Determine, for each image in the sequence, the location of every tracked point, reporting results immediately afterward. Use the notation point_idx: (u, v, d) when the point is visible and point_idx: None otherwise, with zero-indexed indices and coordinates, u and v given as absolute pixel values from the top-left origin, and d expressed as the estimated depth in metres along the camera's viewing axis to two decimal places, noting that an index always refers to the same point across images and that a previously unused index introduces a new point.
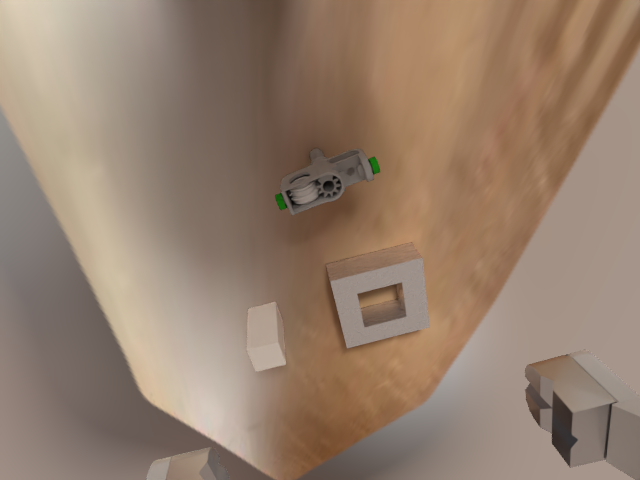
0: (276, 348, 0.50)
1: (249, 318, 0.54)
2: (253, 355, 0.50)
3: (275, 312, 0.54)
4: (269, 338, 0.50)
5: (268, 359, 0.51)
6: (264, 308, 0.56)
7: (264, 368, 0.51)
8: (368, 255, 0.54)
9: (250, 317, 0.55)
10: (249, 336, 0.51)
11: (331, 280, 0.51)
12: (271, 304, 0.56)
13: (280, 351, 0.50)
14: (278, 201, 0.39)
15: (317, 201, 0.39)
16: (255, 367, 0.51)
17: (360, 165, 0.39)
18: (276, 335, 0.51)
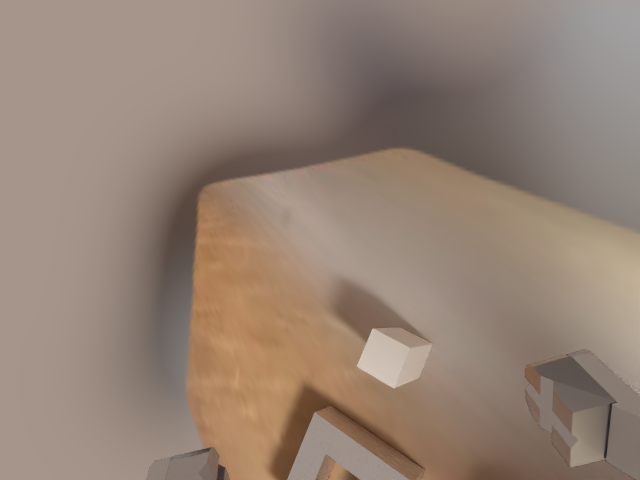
0: (385, 377, 0.37)
1: (426, 347, 0.42)
2: (396, 347, 0.37)
3: (412, 379, 0.42)
4: (401, 376, 0.38)
5: (378, 356, 0.38)
6: (422, 364, 0.43)
7: (369, 340, 0.39)
8: None
9: (426, 348, 0.42)
10: (416, 350, 0.39)
11: None
12: (420, 372, 0.43)
13: (378, 377, 0.38)
14: None
15: None
16: (378, 333, 0.38)
17: None
18: (398, 385, 0.38)
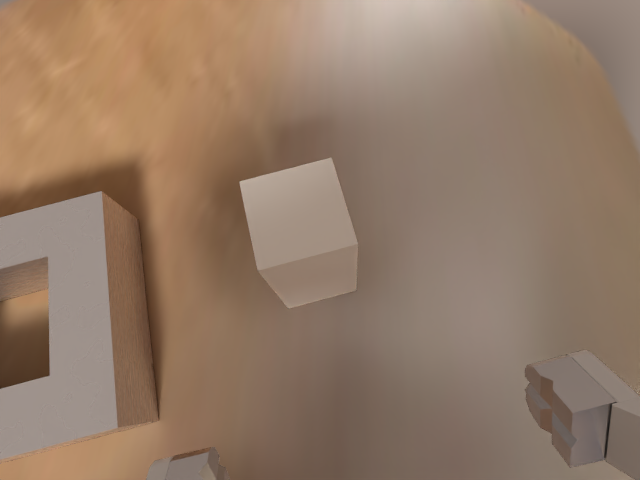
0: (263, 242, 0.16)
1: (351, 282, 0.21)
2: (336, 221, 0.16)
3: (284, 299, 0.21)
4: (288, 270, 0.17)
5: (291, 201, 0.16)
6: (314, 298, 0.22)
7: (305, 169, 0.17)
8: (45, 450, 0.21)
9: (349, 283, 0.21)
10: (349, 263, 0.18)
11: (115, 427, 0.18)
12: (298, 304, 0.23)
13: (252, 231, 0.16)
14: None
15: None
16: (332, 174, 0.17)
17: None
18: (267, 277, 0.17)
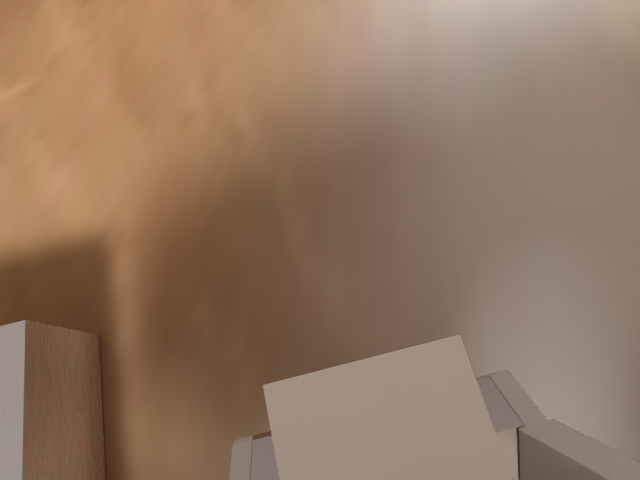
0: None
1: None
2: None
3: None
4: None
5: (379, 445, 0.07)
6: None
7: (404, 361, 0.08)
8: None
9: None
10: None
11: None
12: None
13: None
14: None
15: None
16: (465, 378, 0.08)
17: None
18: None
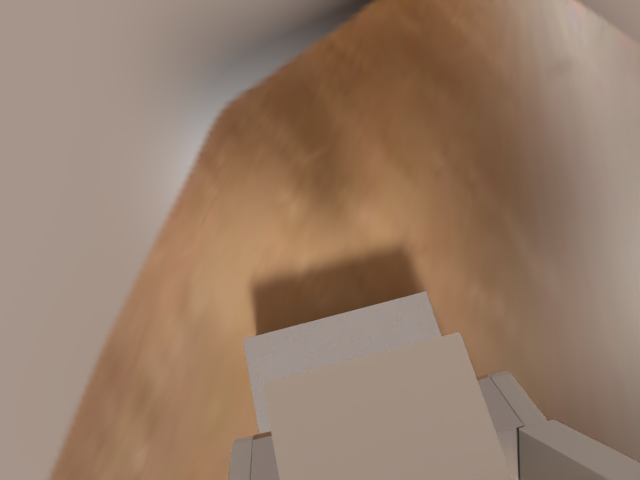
0: None
1: None
2: None
3: None
4: None
5: (379, 442, 0.07)
6: None
7: (404, 358, 0.08)
8: None
9: None
10: None
11: None
12: None
13: None
14: None
15: None
16: (464, 375, 0.08)
17: None
18: None
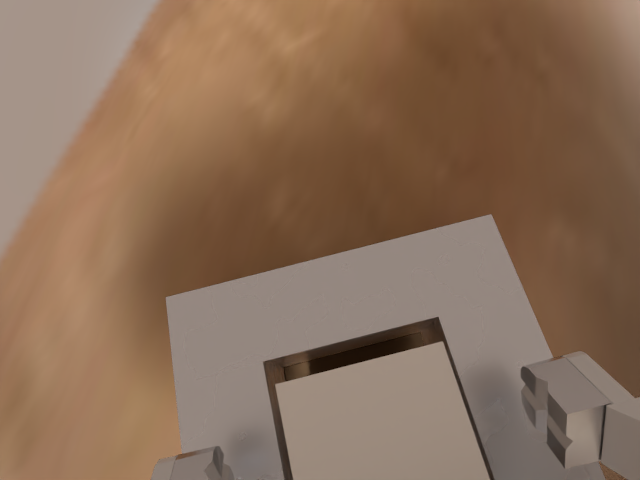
0: None
1: None
2: None
3: None
4: None
5: (374, 434, 0.09)
6: None
7: (395, 364, 0.09)
8: None
9: None
10: None
11: None
12: None
13: None
14: None
15: None
16: (446, 378, 0.09)
17: None
18: None
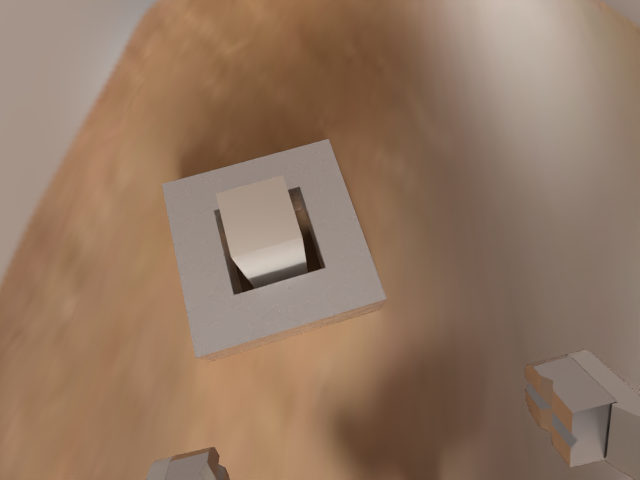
0: (234, 237, 0.22)
1: (303, 266, 0.28)
2: (286, 221, 0.23)
3: (251, 281, 0.27)
4: (253, 257, 0.23)
5: (254, 208, 0.23)
6: (275, 279, 0.29)
7: (264, 183, 0.23)
8: (300, 333, 0.28)
9: (301, 267, 0.28)
10: (298, 251, 0.24)
11: (383, 299, 0.25)
12: (263, 285, 0.29)
13: (226, 230, 0.22)
14: None
15: None
16: (283, 187, 0.23)
17: None
18: (238, 262, 0.23)
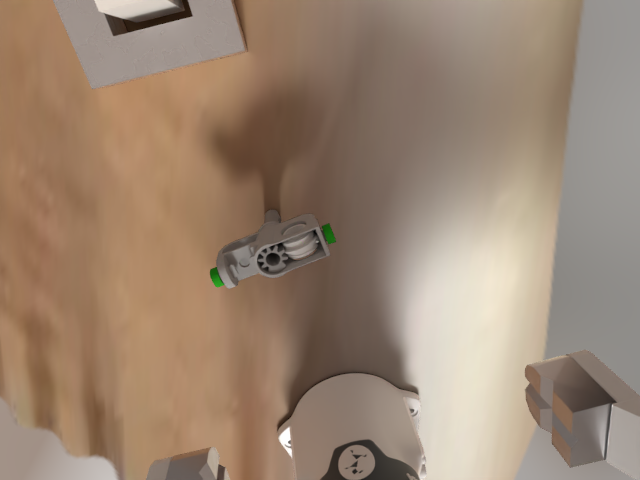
0: None
1: (175, 8, 0.31)
2: None
3: (129, 19, 0.31)
4: (120, 9, 0.27)
5: None
6: (153, 16, 0.32)
7: None
8: (180, 68, 0.34)
9: (174, 8, 0.31)
10: (163, 2, 0.28)
11: (242, 50, 0.31)
12: (143, 20, 0.33)
13: None
14: (333, 241, 0.32)
15: None
16: None
17: (235, 276, 0.33)
18: (108, 13, 0.27)
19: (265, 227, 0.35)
